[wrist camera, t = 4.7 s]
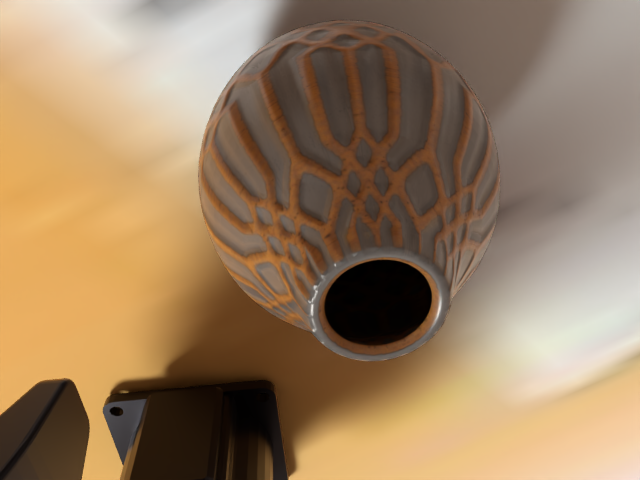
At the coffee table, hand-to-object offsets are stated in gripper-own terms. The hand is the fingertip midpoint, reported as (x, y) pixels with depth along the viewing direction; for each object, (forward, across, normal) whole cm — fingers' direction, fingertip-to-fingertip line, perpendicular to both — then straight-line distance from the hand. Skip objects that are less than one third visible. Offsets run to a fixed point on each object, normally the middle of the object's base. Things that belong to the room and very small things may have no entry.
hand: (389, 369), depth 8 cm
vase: (+10, 0, 0) cm, 10 cm away
